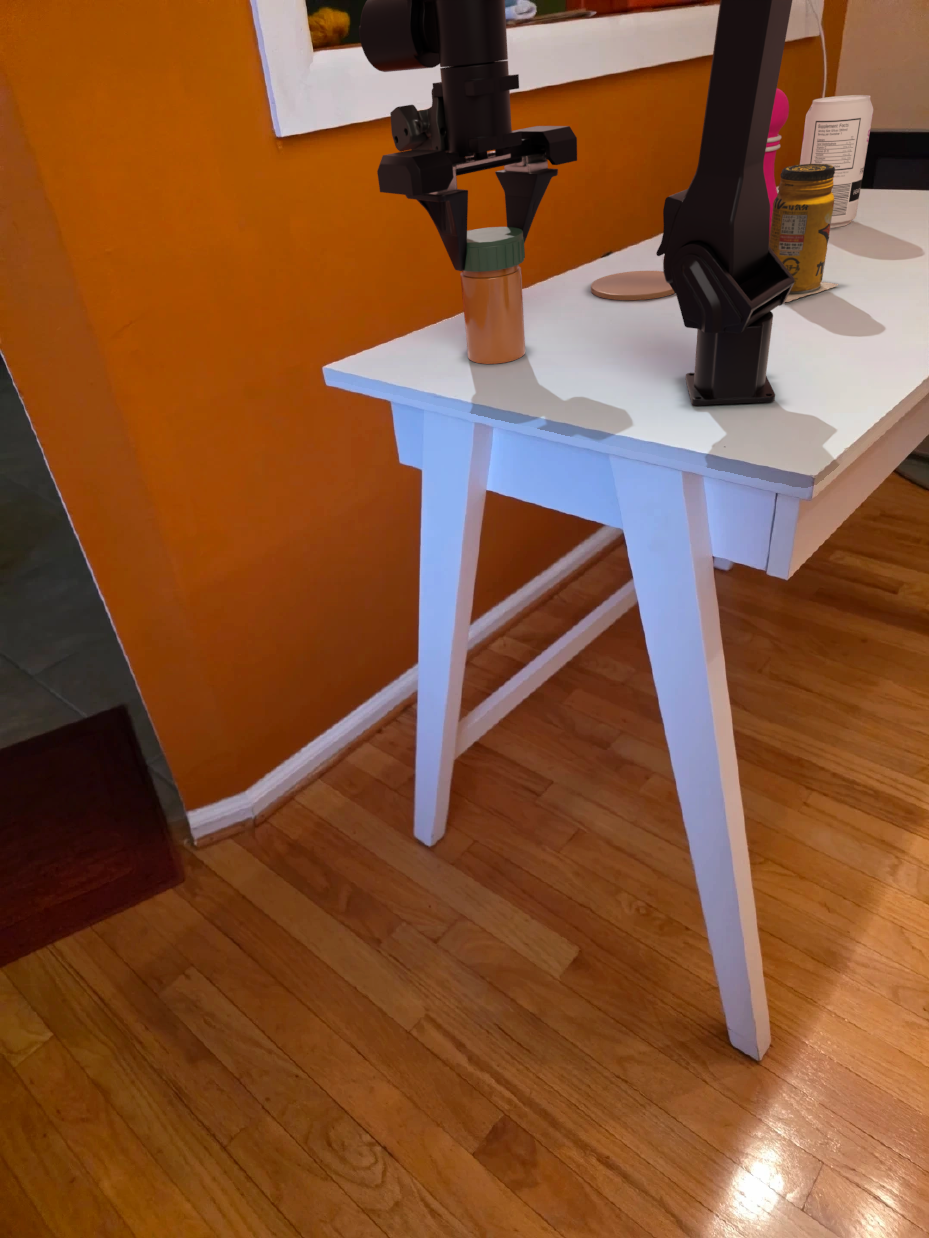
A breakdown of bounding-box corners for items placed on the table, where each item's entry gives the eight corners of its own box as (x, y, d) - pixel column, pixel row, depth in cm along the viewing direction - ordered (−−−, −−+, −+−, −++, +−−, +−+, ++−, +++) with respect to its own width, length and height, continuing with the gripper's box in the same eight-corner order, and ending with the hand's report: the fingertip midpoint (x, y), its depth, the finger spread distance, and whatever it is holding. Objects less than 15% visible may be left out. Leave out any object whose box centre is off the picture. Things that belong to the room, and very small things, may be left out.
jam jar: (527, 360, 80) (521, 249, 74) (468, 366, 80) (458, 256, 75) (523, 342, 85) (517, 236, 79) (467, 348, 85) (457, 243, 79)
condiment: (838, 286, 91) (858, 163, 84) (787, 303, 87) (803, 177, 80) (784, 276, 96) (798, 160, 89) (733, 292, 92) (744, 173, 85)
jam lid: (519, 251, 80) (517, 223, 79) (530, 266, 75) (528, 237, 73) (451, 260, 80) (448, 232, 79) (457, 275, 75) (454, 246, 73)
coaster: (689, 297, 93) (689, 291, 92) (590, 303, 94) (590, 297, 94) (680, 273, 102) (681, 268, 101) (591, 279, 103) (591, 274, 103)
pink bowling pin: (789, 259, 102) (814, 66, 90) (740, 269, 100) (759, 74, 89) (752, 250, 107) (770, 67, 96) (705, 259, 106) (718, 74, 94)
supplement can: (780, 224, 118) (794, 102, 109) (824, 214, 120) (841, 94, 112) (822, 232, 112) (841, 103, 103) (868, 221, 114) (890, 94, 106)
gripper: (498, 58, 78) (508, 234, 87) (330, 81, 70) (360, 273, 79) (580, 51, 71) (582, 245, 80) (403, 76, 62) (427, 290, 71)
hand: (488, 262), depth 78 cm, fingers closed on jam lid, 6 cm apart
